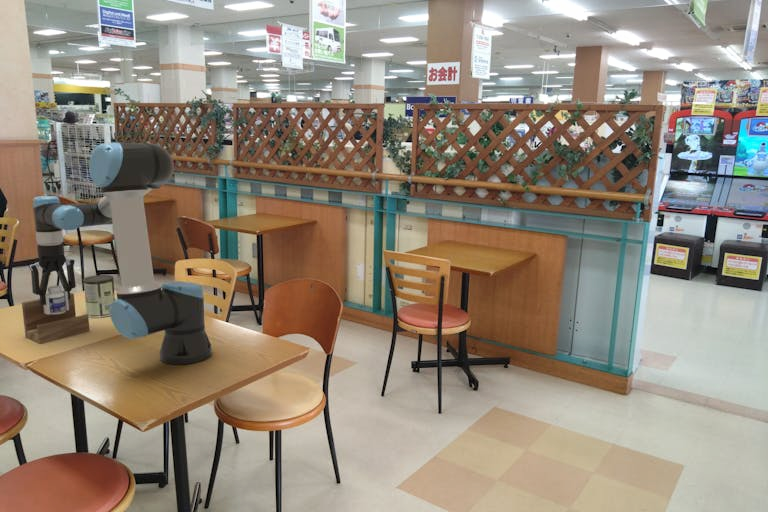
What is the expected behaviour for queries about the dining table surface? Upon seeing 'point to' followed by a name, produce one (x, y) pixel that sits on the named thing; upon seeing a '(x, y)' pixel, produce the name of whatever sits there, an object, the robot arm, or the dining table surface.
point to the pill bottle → (56, 300)
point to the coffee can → (99, 295)
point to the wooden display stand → (52, 322)
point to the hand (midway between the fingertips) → (56, 311)
